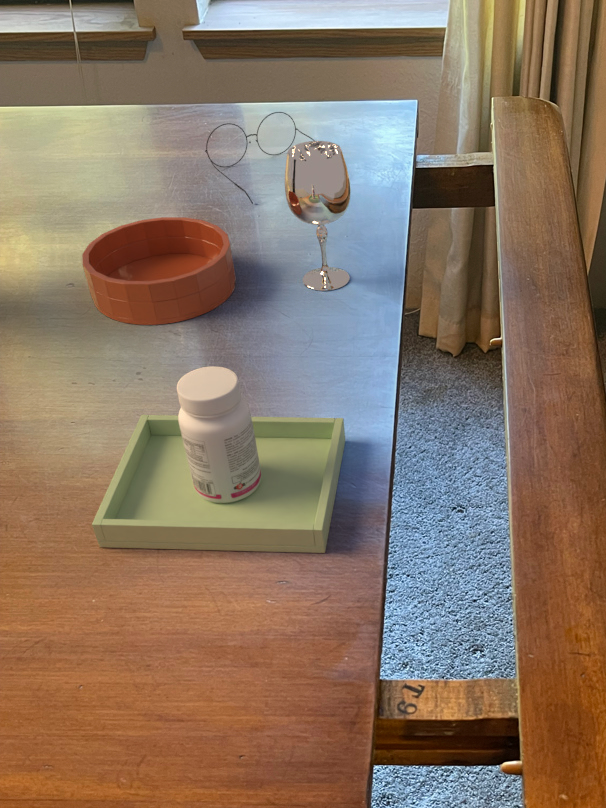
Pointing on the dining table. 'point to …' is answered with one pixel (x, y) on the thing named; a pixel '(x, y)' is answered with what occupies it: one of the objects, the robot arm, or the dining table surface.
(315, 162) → the wineglass
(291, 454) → the tray
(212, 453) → the pill bottle
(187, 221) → the bowl
